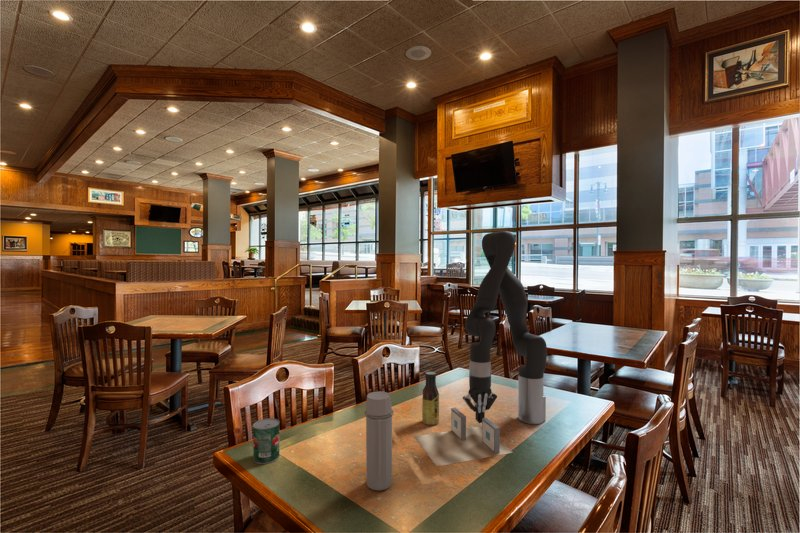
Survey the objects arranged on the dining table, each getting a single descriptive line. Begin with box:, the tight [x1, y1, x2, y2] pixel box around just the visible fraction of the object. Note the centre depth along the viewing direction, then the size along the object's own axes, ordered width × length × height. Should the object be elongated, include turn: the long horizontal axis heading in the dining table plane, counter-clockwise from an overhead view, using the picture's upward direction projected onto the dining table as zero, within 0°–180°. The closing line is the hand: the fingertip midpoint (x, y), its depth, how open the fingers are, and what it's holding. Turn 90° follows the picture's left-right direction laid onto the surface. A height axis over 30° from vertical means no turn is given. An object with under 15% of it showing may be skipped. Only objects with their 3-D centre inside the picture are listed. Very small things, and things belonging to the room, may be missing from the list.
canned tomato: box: [252, 417, 281, 465], centre depth 121 cm, size 8×8×11 cm
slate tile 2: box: [481, 417, 501, 454], centre depth 124 cm, size 2×8×8 cm, turn 18°
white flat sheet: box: [413, 425, 514, 467], centre depth 126 cm, size 26×20×2 cm
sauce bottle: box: [421, 371, 440, 427], centre depth 143 cm, size 7×6×20 cm
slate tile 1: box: [450, 407, 467, 441], centre depth 132 cm, size 2×8×8 cm, turn 18°
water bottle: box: [364, 390, 394, 492], centre depth 105 cm, size 9×8×25 cm
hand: (479, 421), depth 135 cm, fingers closed
